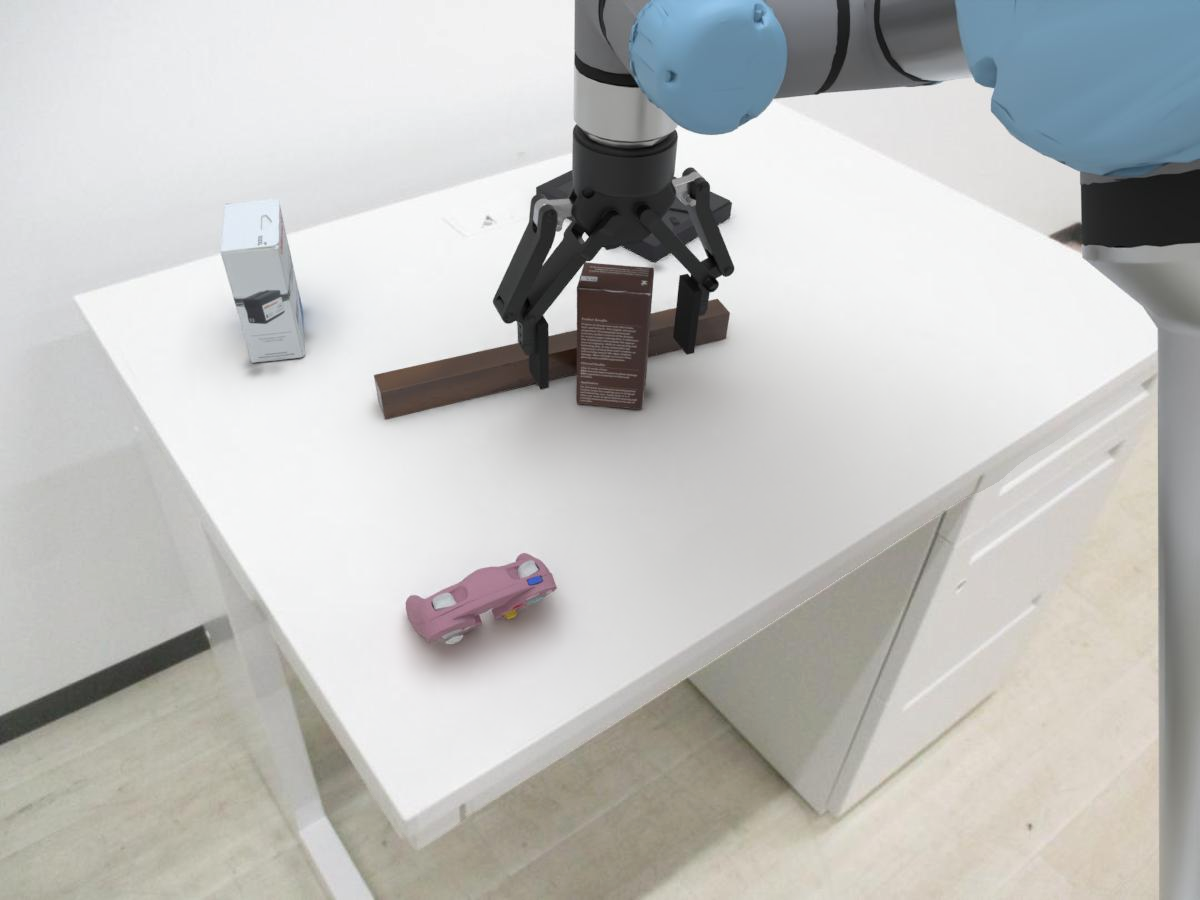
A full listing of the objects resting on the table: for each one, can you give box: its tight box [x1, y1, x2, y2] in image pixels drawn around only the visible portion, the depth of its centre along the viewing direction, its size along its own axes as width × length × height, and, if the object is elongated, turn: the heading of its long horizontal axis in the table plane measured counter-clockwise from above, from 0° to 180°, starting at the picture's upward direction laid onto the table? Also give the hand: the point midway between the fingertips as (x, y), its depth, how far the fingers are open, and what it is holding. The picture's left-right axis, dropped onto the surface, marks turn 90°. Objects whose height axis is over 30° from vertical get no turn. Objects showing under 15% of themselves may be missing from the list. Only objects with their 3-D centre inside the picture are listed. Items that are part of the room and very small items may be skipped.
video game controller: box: [405, 552, 558, 645], centre depth 64 cm, size 10×5×7 cm, turn 118°
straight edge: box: [373, 298, 731, 420], centre depth 85 cm, size 2×33×3 cm, turn 113°
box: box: [575, 261, 655, 411], centre depth 80 cm, size 6×4×12 cm
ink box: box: [219, 198, 306, 363], centre depth 85 cm, size 8×5×12 cm, turn 13°
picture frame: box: [535, 169, 733, 263], centre depth 107 cm, size 13×2×18 cm
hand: (613, 362), depth 82 cm, fingers open, 13 cm apart
